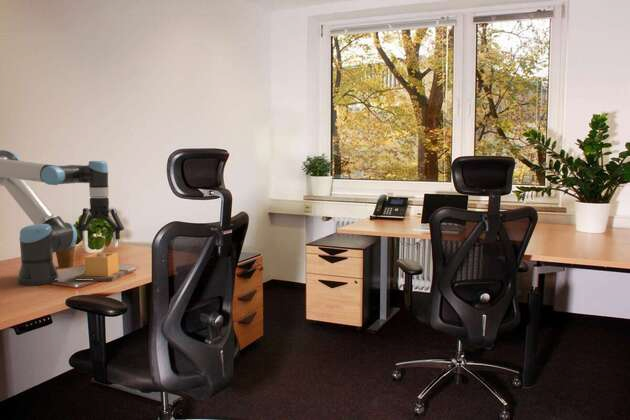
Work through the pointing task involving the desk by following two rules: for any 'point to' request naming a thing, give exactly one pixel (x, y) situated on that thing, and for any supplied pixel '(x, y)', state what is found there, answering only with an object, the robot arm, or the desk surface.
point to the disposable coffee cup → (66, 257)
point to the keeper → (104, 278)
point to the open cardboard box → (101, 264)
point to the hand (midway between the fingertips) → (100, 246)
